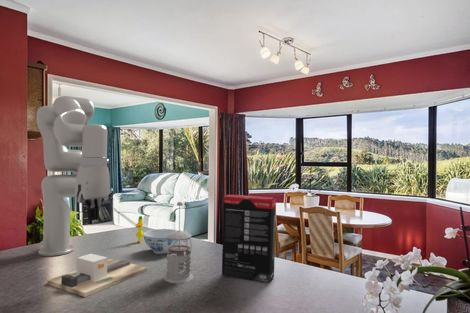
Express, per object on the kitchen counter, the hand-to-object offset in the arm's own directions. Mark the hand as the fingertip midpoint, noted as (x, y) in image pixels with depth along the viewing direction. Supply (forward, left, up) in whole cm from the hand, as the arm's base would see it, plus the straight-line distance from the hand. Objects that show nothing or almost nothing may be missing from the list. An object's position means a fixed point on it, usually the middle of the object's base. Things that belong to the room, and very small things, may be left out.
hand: (93, 219), depth 102 cm
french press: (+23, +16, -19) cm, 34 cm away
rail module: (+1, -1, -18) cm, 18 cm away
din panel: (+1, +2, -19) cm, 19 cm away
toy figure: (-19, +39, -19) cm, 48 cm away
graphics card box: (+43, +27, -20) cm, 54 cm away
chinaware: (-1, +34, -19) cm, 40 cm away
